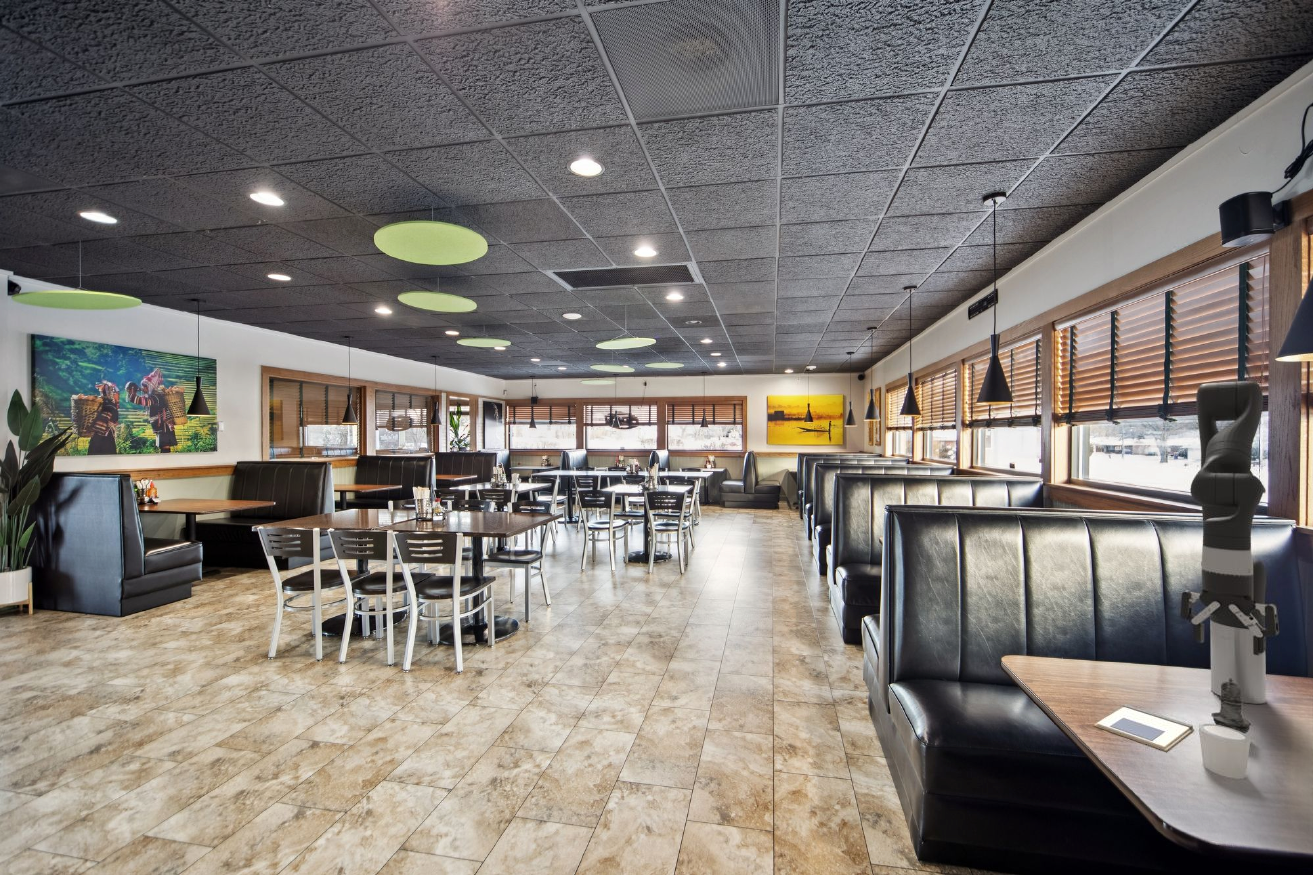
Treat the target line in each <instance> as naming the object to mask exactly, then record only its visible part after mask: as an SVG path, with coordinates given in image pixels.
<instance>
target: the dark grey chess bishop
mask: <svg viewBox="0 0 1313 875" xmlns="http://www.w3.org/2000/svg"><path fill="white" fill-rule="evenodd" d="M1228 680H1229V681H1228V682H1223V683H1222V684H1221V696H1219V697H1218V699H1219V701H1220V710H1219V712H1211V715H1210V716H1211V717H1212V718H1213V719H1212V720H1213V722H1214V724H1215V725H1221V726H1225V727H1228V728H1232V729H1235V730H1237V731H1240V732H1242V733H1244V734H1247V733H1248V732H1249V730H1250V727H1252V723H1251V721H1249V720H1248V719H1246V718H1244V716H1243V713H1242V705H1244V702H1242V701H1241V689H1240V687H1239V686H1238V685H1237V684H1235V683H1233V682H1232V681H1233V680H1232V679H1231V678H1230V679H1228Z"/></svg>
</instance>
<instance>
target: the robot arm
mask: <svg viewBox="0 0 1313 875" xmlns="http://www.w3.org/2000/svg"><path fill="white" fill-rule="evenodd" d="M1195 396H1196V398H1195V400H1196V405H1195V406H1196V416H1197V423H1198V433H1199V441H1200V443H1199V444H1200V469H1199V471H1197V473H1196V475H1195V476H1194V478H1193V479H1192V482H1191V485H1190V494H1191V498H1192V499H1193V500H1194V501H1195V502H1196V503H1198V504H1199V505H1201V511H1202V513H1201V514H1202V552H1201V562H1200V566H1201V593H1198V592H1194V591H1192V590H1190V589H1189V590H1185V591H1183V592H1181V602H1180V604H1181V605H1180V616H1179V617H1180V618H1181V619H1183V620H1186V621H1188V622H1190V623H1191V624H1192V638H1193V639H1194V640H1196V642H1197V643H1199V644H1203V643H1205V624H1204V623H1203V622H1204V621H1205V620H1207V619H1208V618H1209V620H1210V622H1209V624H1210V629H1209V630H1210V631H1209V632H1210V691H1212V693H1214V694H1215V695H1218V696H1219V697H1221V684H1222V683H1223V682H1228V681H1229V680H1228V679H1230V678H1231V679H1232V680H1233V681H1232V682H1233V683H1235V684H1237V685H1238V686H1239V687H1240V689H1241V701H1242V702H1243V703H1246V704H1254V705H1260V704H1265V703H1266V700H1267V699H1266V698H1267V696H1266V695H1267V694H1266V693H1267V692H1266V691H1267V690H1266V688H1267V686H1266V685H1267V683H1266V681H1267V680H1266V678H1267V677H1266V672H1267V671H1266V670H1267V669H1266V668H1267V667H1266V650H1267V648H1266V647H1267V645H1266V644H1267V640H1266V639H1267V638H1266V637H1272V638H1273V637H1275V636H1278V635H1279V633H1280V628H1279V627H1280V626H1279V616H1278V615H1279V614H1278V609H1277V605H1276V604H1275V603H1268V604H1265V601H1266V589H1267V588H1266V587H1267V571H1266V569H1267V568H1266V566H1265V565H1264V562H1262V560H1260V559H1257V558H1253V554H1252V537H1251V536H1252V527H1253V526H1252V525H1253V520H1254V518H1255V515H1256V514H1255V513H1256V512H1257V509H1258V507H1259V504H1260V502H1261V500H1262V497H1263V493H1264V484H1263V482H1262V481H1261V479H1260V478H1259V477H1257V476H1255V475H1254V473H1253V472H1252V471H1251V468H1252V451H1253V449H1252V448H1253V443H1254V440H1255V437H1256V434H1257V431H1258V428H1259V425H1260V421H1261V418H1262V414H1263V407H1264V396H1263V390H1262V387H1261V385H1260V384H1259V383H1258V382H1255V381H1252V380H1251V381H1249V380H1247V381H1246V380H1245V381H1225V382H1211V383H1210V382H1209V383H1203V384H1200V386H1199V387H1198V389H1197V392H1196V395H1195ZM1217 422H1231V423H1230V424H1228V425H1227V426H1226V427H1223V428H1222V429H1221V430H1220V431H1219V428H1218V425H1217ZM1197 600H1199V601H1200V603H1202V605H1203V606H1204V607H1205V608H1204V609H1203V610H1201V611H1200V612H1199V613H1198V614H1197V615H1195V614H1193V603H1195V602H1197Z"/></svg>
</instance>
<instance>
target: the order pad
mask: <svg viewBox="0 0 1313 875" xmlns="http://www.w3.org/2000/svg"><path fill="white" fill-rule="evenodd" d="M1093 727H1096V728H1098V729H1100V730H1104V731H1106V732H1110V733H1111V734H1115V735H1118V736H1121V737H1123V738H1126V739H1130V740H1132V741H1135V742H1138V743H1140V742H1141V744H1143V745H1146V744H1147V746H1150V747H1152V748H1155V749H1158V750H1160V751H1164V752H1168V751H1170V749H1172V748H1173V747H1175V746H1176V745H1177V744H1178V743H1180V742H1181V741H1182V740H1183V739H1185V738H1186V737H1187V736H1188V735H1190V734H1191V733H1192V732H1194V731H1195V728H1194V725H1192V724H1190V723H1186V722H1183V721H1180V720H1176V719H1173V718H1170V717H1167V716H1164V715H1161V714H1158V713H1155V712H1151V711H1148V710H1144V709H1141V708H1138V707H1135V706H1133V705H1129V704H1126V703H1125V704H1123V705H1122V707H1121V708H1120V709H1118V710H1116V711H1114V712H1112V713H1111V714H1109V715H1108V716H1106V717H1104V718H1102V719H1100V721H1099V720H1098V722H1096V723H1094V724H1093Z"/></svg>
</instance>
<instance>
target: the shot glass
mask: <svg viewBox="0 0 1313 875" xmlns="http://www.w3.org/2000/svg"><path fill="white" fill-rule="evenodd" d="M1198 734H1199V744H1200V749H1201V757H1202V765H1203V766H1204V768H1205V769H1207V770H1209V772H1210V771H1211V772H1212V773H1215V774H1217V775H1219V776H1223V777H1226V778H1231V779H1236V780H1237V779H1238V780H1243V779H1246V777H1247V771H1248V763H1249V756H1250V755H1249V754H1250V746H1251V738H1250V736H1248V734H1247V733H1245V734H1244V733H1242V732H1240V731H1237V730H1235V729H1232V728H1228V727H1225V726H1221V725H1216V724H1215V723H1202V724H1201V723H1200V724H1199V725H1198Z"/></svg>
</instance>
